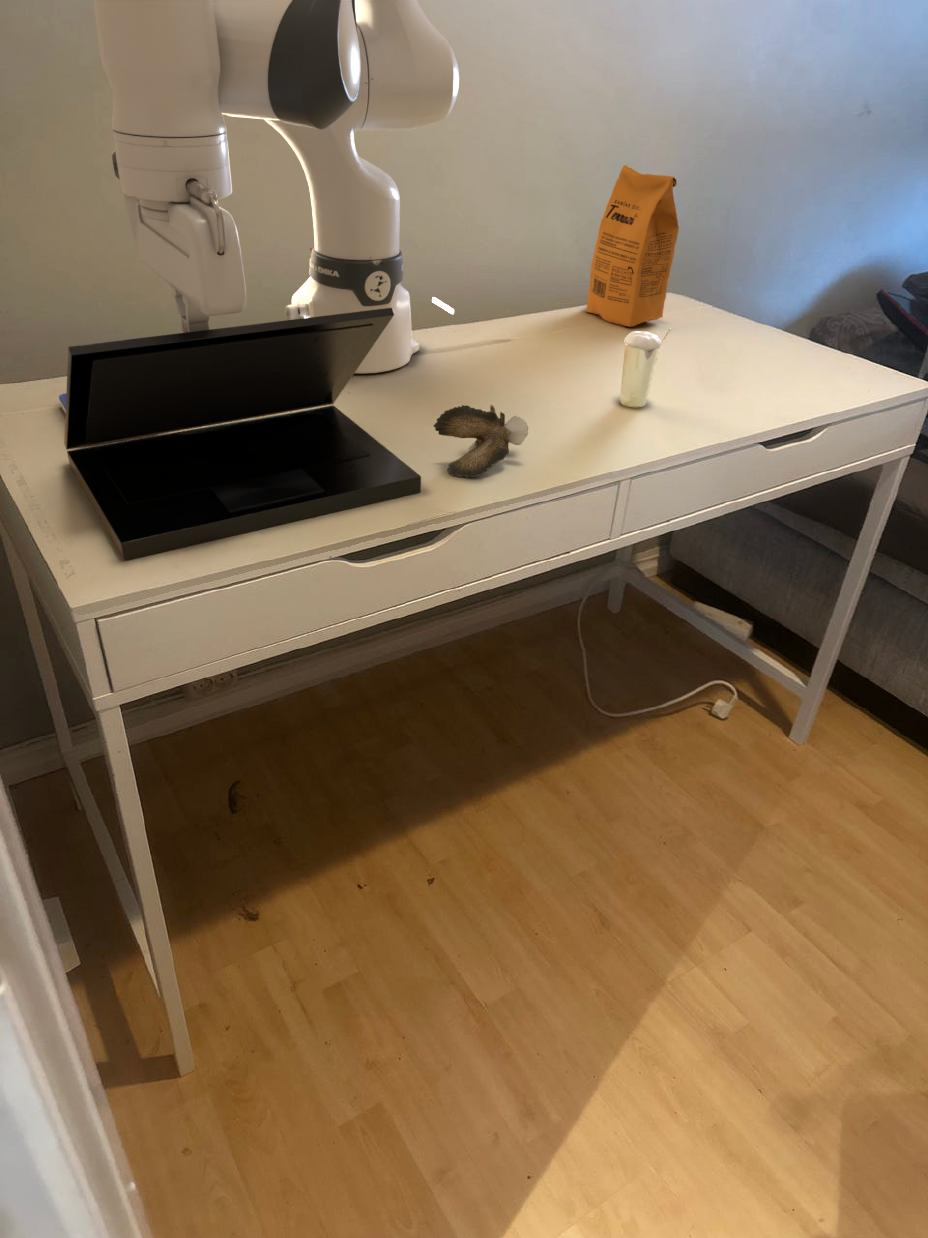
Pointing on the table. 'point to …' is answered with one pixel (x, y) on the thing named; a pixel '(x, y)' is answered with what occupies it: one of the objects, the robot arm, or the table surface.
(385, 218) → the robot arm
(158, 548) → the laptop
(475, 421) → the eagle figurine
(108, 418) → the laptop screen
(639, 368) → the milkshake
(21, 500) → the table surface
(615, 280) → the coffee package
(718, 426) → the table surface
